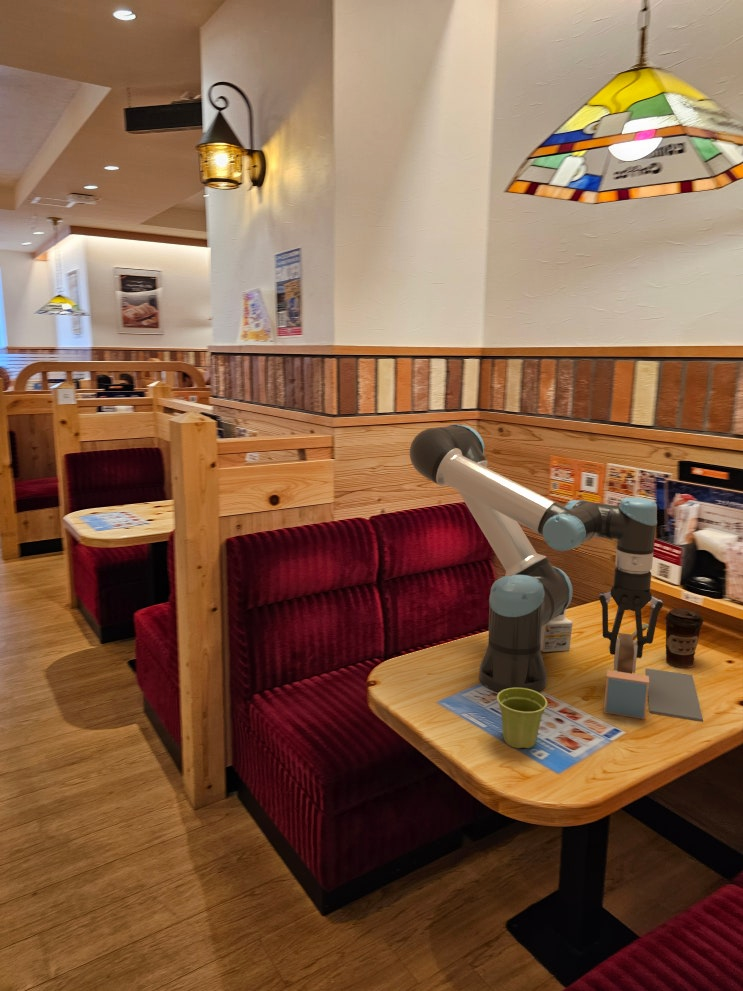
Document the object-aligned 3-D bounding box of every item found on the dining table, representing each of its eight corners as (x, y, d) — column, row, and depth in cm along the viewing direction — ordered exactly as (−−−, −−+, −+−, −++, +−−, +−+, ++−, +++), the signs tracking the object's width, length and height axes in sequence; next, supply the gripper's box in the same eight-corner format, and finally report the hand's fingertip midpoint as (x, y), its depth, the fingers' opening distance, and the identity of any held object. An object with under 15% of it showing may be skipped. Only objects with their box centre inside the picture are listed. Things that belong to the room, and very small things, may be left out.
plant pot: (553, 739, 129) (556, 698, 127) (529, 760, 122) (532, 717, 120) (510, 722, 135) (512, 682, 133) (485, 741, 128) (487, 700, 126)
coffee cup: (703, 672, 157) (709, 620, 155) (665, 669, 159) (670, 617, 156) (693, 657, 166) (698, 607, 163) (657, 654, 167) (662, 604, 165)
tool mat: (649, 712, 139) (649, 710, 139) (645, 670, 158) (645, 668, 158) (702, 721, 136) (702, 719, 136) (692, 676, 155) (692, 674, 155)
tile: (603, 713, 139) (606, 676, 136) (604, 705, 141) (607, 669, 138) (645, 720, 136) (649, 683, 133) (644, 712, 138) (648, 676, 135)
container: (542, 652, 167) (548, 603, 165) (527, 640, 174) (532, 592, 172) (570, 650, 169) (575, 601, 167) (553, 638, 176) (559, 591, 174)
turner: (608, 693, 140) (610, 666, 139) (607, 655, 158) (609, 631, 157) (643, 698, 138) (646, 671, 136) (639, 660, 156) (641, 635, 155)
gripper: (594, 570, 145) (586, 670, 149) (675, 578, 140) (664, 682, 144) (594, 560, 152) (587, 656, 156) (671, 567, 147) (661, 667, 151)
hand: (624, 668), depth 150 cm, fingers closed on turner, 3 cm apart
